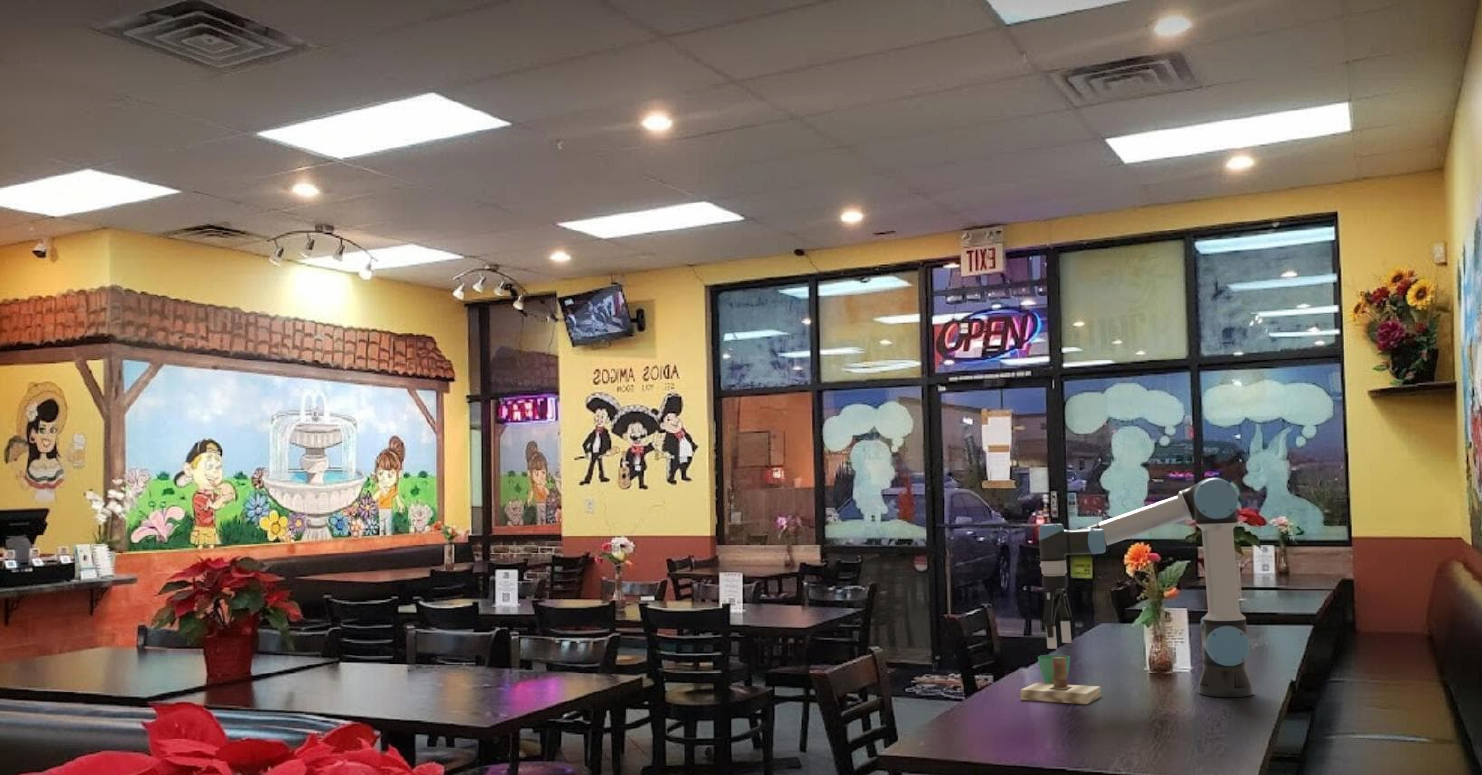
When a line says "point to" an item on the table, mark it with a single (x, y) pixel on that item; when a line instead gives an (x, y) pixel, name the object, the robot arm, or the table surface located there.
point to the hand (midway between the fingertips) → (1059, 645)
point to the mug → (1050, 666)
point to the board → (1061, 693)
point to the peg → (1059, 673)
